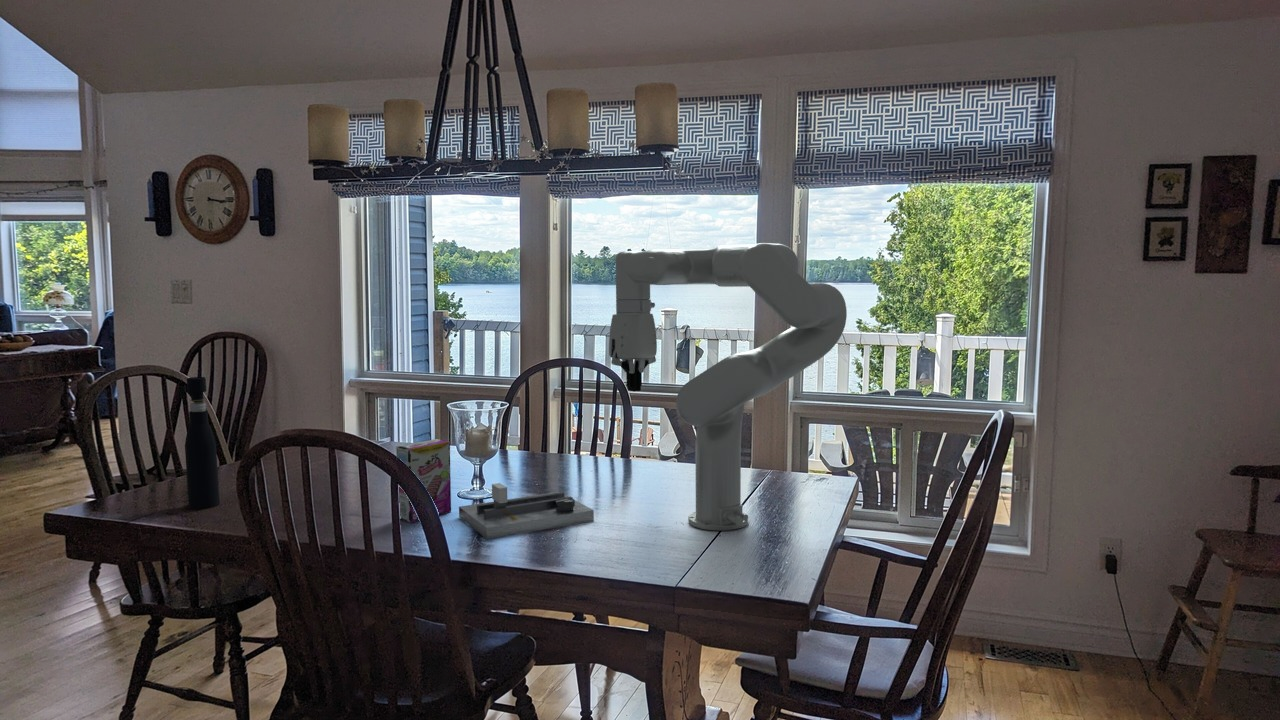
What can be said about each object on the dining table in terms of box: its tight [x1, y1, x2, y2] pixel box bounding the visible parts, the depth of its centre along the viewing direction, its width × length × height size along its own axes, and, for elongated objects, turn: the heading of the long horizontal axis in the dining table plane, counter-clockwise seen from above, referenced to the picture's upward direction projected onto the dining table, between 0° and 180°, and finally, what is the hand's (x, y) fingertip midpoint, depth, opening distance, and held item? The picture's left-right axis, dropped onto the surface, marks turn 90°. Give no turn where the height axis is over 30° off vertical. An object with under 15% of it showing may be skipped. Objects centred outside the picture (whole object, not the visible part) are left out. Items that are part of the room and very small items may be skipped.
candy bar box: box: [396, 438, 452, 524], centre depth 188 cm, size 11×5×16 cm, turn 141°
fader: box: [491, 482, 508, 508], centre depth 182 cm, size 4×2×6 cm, turn 30°
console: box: [458, 491, 595, 540], centre depth 185 cm, size 18×24×5 cm
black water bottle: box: [184, 376, 220, 510], centre depth 197 cm, size 6×6×30 cm
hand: (634, 390), depth 189 cm, fingers closed
